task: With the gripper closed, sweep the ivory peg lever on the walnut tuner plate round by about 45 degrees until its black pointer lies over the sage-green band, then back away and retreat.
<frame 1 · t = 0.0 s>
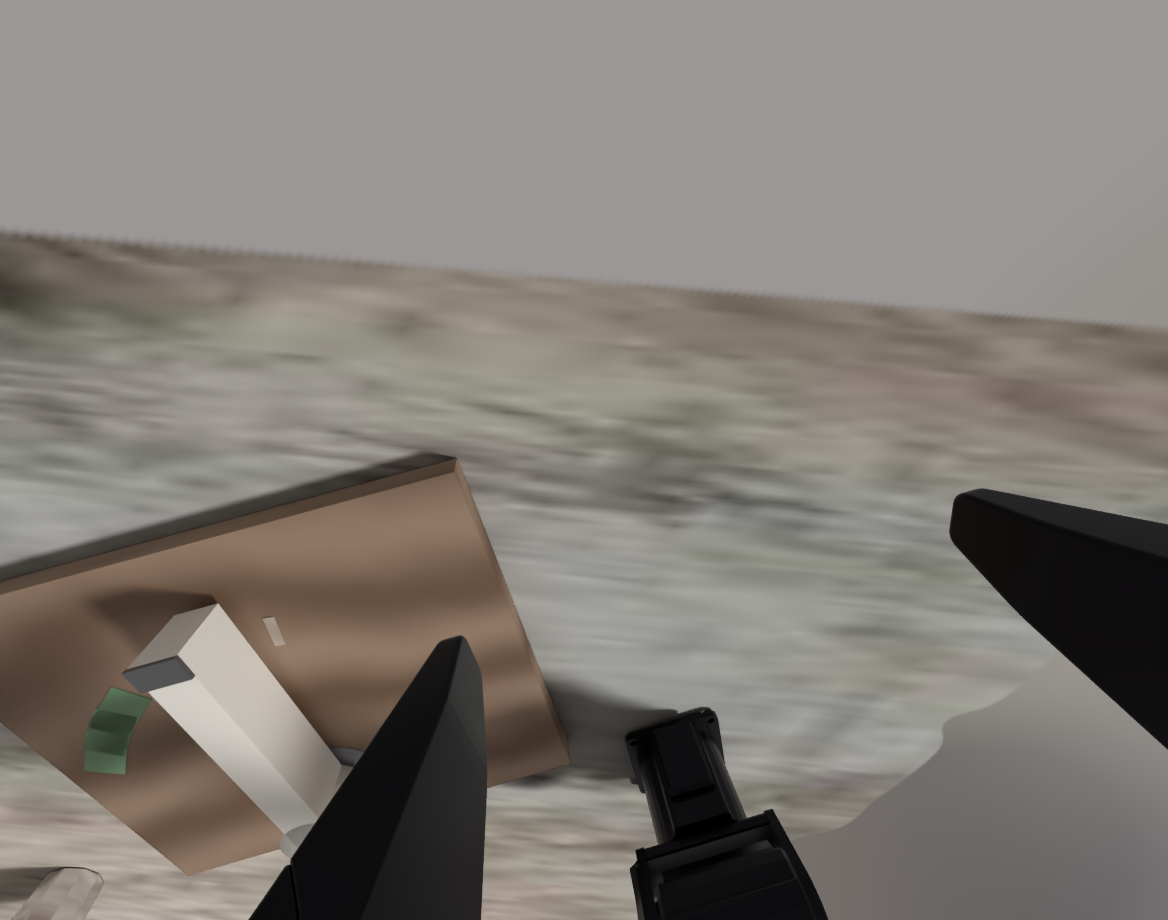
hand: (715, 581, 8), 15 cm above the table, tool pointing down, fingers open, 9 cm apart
milkshake: (83, 879, 31), on the table
peg lever: (270, 748, 23), point 4 cm above the table, hinge at 0.0°
tuner plate: (308, 685, 27), on the table
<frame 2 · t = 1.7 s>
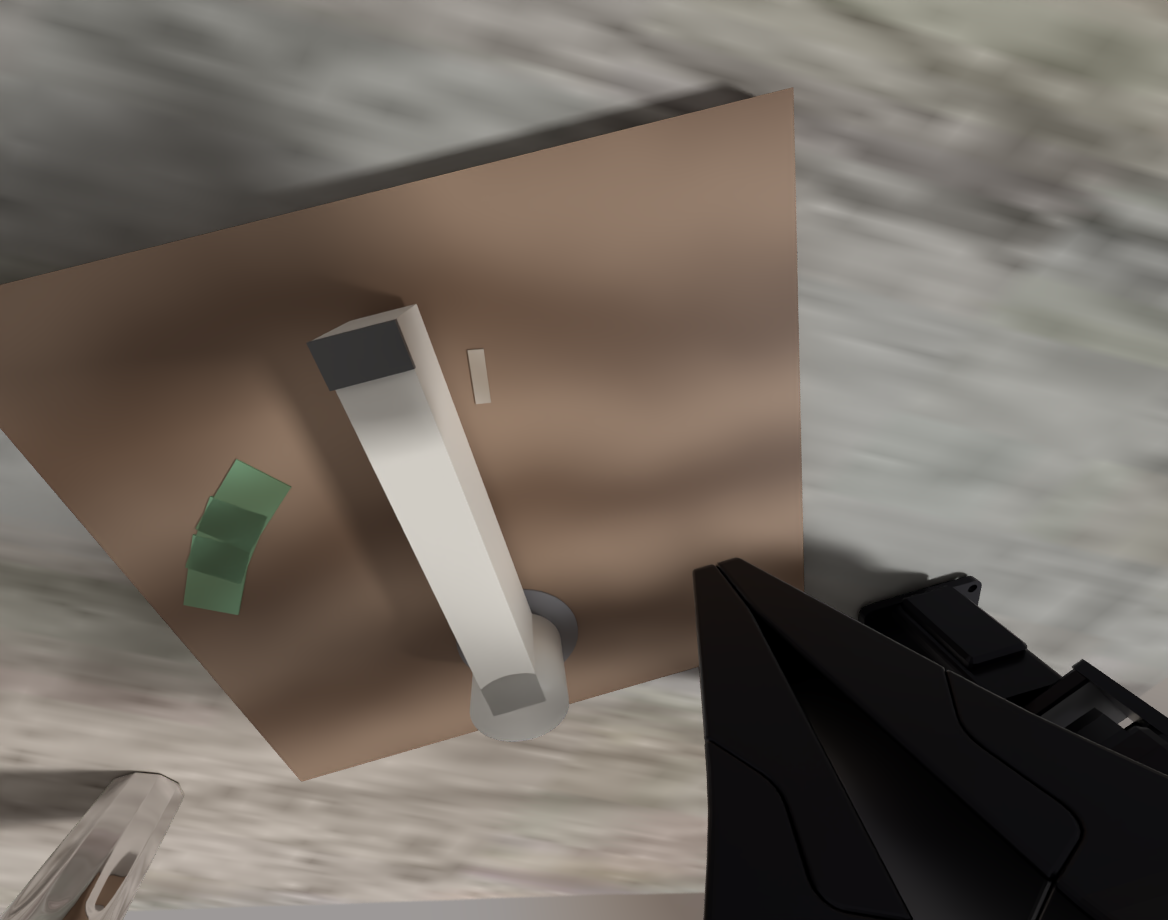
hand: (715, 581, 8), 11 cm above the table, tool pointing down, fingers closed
milkshake: (156, 792, 24), on the table
peg lever: (468, 555, 16), point 4 cm above the table, hinge at 0.0°
tuner plate: (487, 501, 19), on the table
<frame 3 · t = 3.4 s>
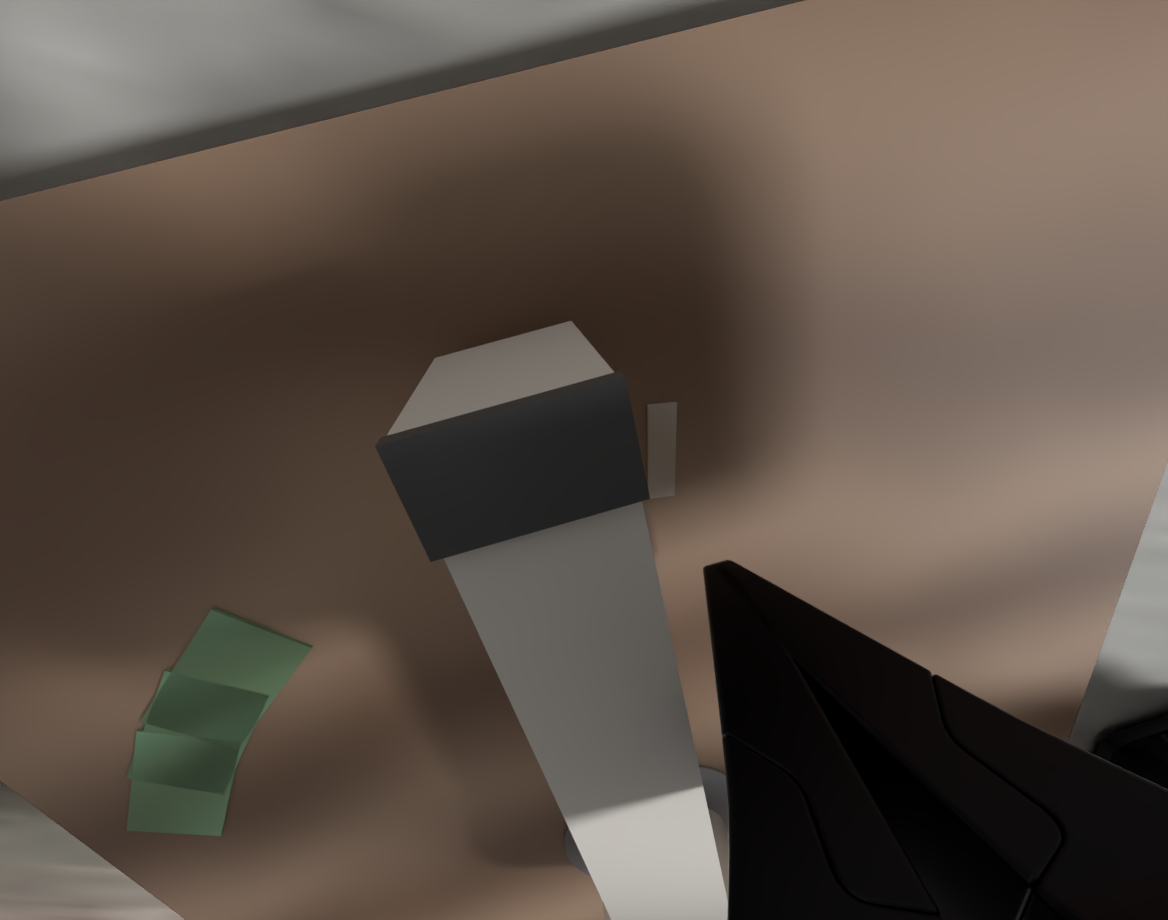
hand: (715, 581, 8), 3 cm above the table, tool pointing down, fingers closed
peg lever: (634, 775, 9), point 4 cm above the table, hinge at 0.2°, touching gripper
tuner plate: (620, 628, 12), on the table
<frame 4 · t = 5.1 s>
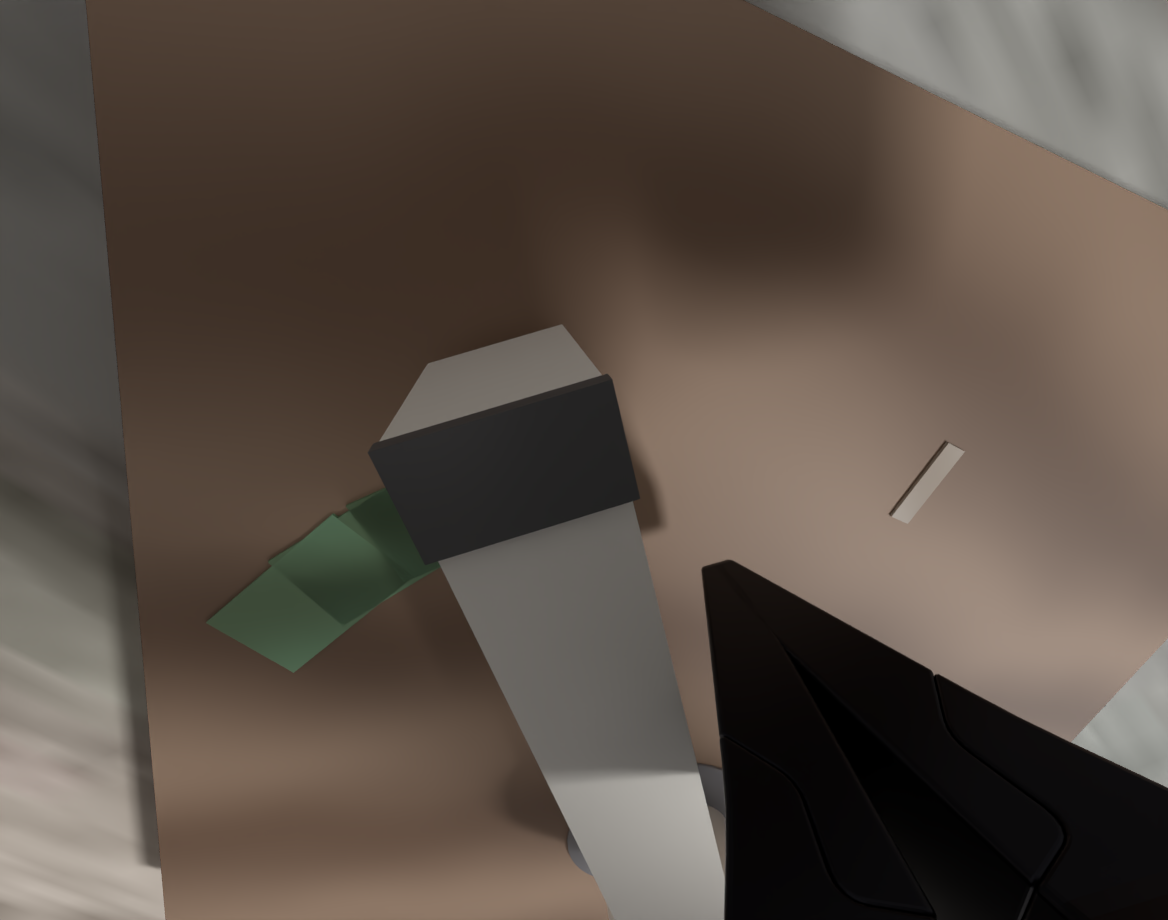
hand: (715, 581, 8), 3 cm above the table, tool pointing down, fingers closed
peg lever: (634, 773, 9), point 4 cm above the table, hinge at 30.3°, touching gripper
tuner plate: (731, 623, 13), on the table
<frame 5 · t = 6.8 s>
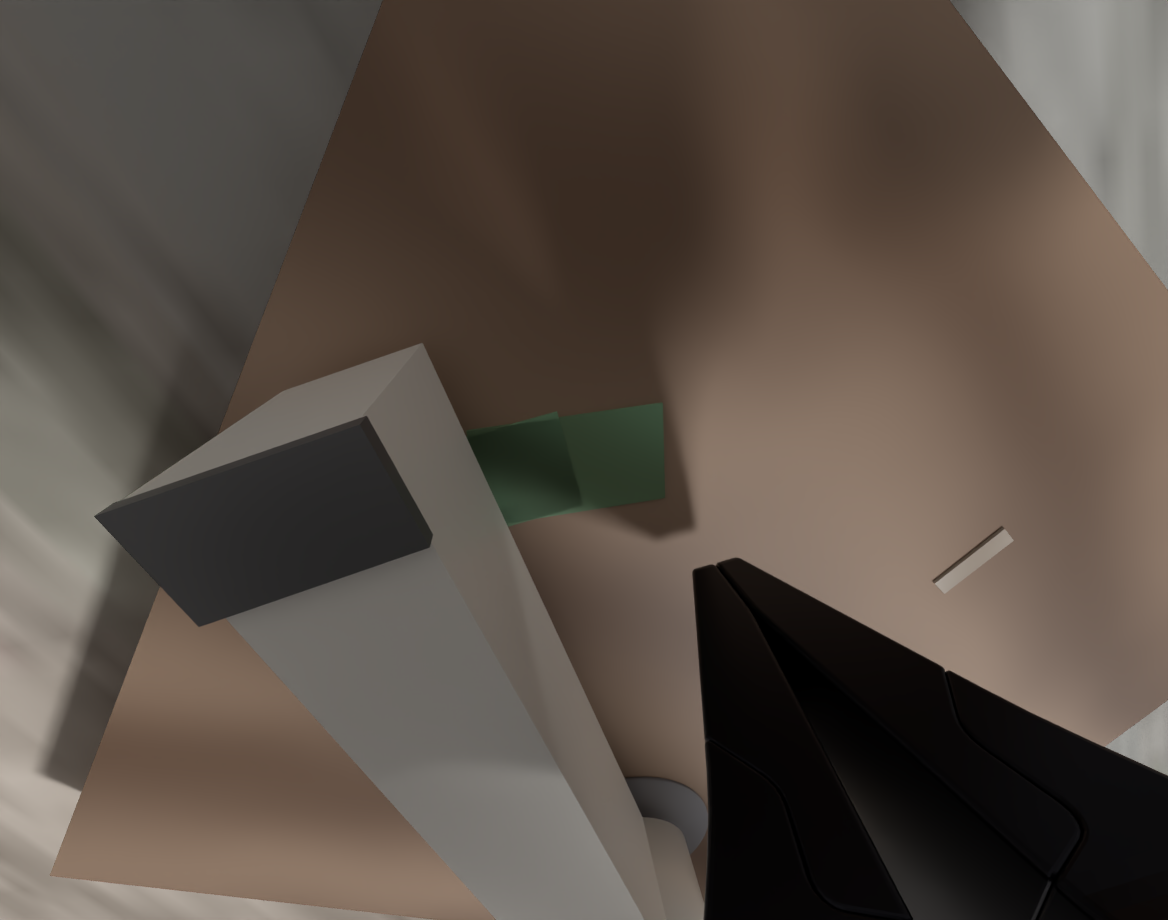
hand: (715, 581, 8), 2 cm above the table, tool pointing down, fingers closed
peg lever: (551, 801, 8), point 4 cm above the table, hinge at 49.7°
tuner plate: (741, 651, 13), on the table
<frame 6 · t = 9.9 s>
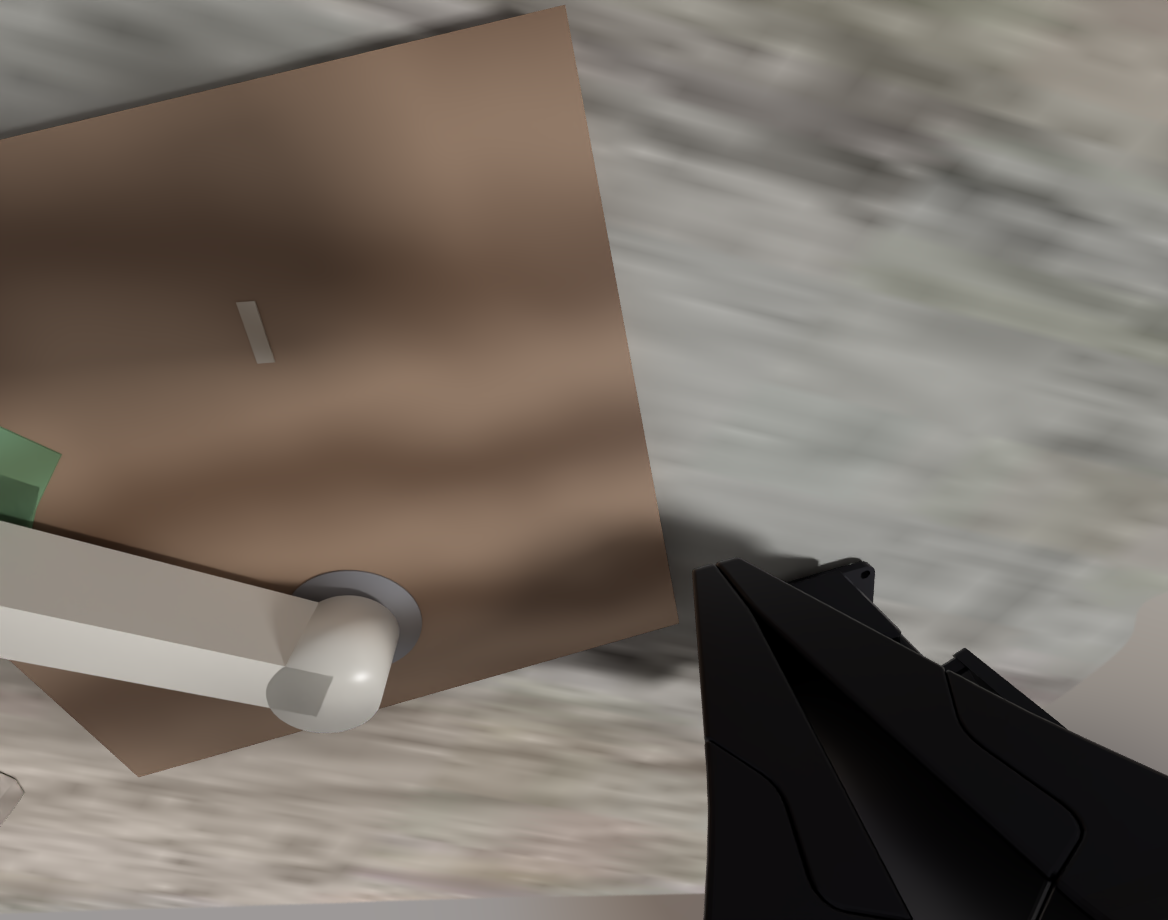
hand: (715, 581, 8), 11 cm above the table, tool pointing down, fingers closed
peg lever: (143, 620, 15), point 4 cm above the table, hinge at 49.7°
tuner plate: (310, 475, 18), on the table
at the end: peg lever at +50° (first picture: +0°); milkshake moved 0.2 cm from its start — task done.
